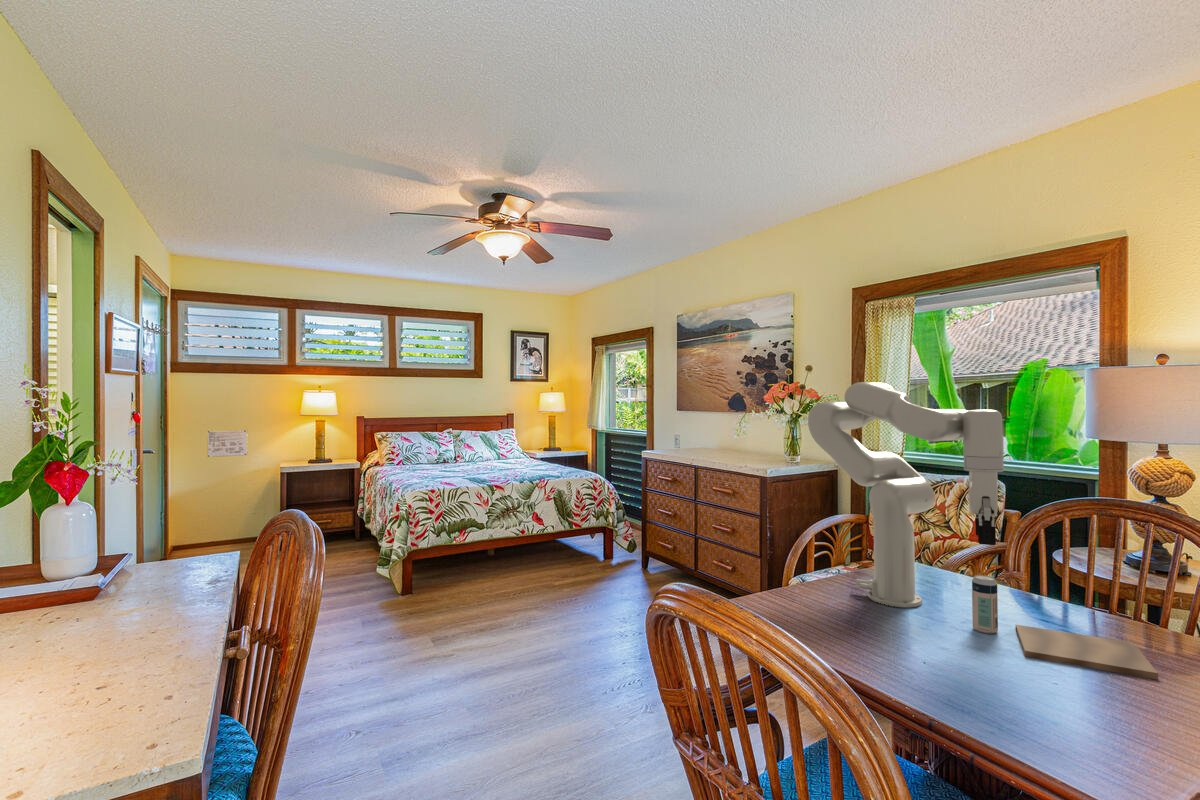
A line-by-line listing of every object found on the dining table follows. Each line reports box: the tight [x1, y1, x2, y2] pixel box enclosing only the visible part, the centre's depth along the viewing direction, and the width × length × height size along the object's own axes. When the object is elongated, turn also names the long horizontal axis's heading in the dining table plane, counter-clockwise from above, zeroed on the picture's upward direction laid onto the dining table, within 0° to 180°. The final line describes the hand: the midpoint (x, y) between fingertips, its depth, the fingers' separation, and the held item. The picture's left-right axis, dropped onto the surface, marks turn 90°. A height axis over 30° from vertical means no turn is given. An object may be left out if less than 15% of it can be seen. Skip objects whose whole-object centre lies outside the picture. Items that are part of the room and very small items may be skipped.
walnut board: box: [1015, 624, 1159, 680], centre depth 119 cm, size 20×16×1 cm
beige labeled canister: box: [971, 574, 999, 635], centre depth 130 cm, size 5×5×12 cm
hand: (985, 539), depth 130 cm, fingers open, 9 cm apart
